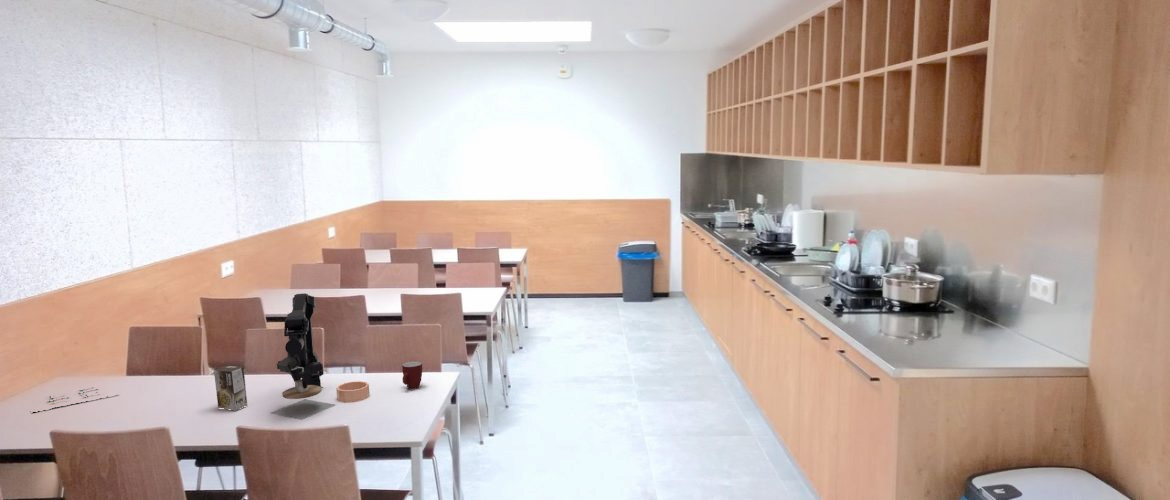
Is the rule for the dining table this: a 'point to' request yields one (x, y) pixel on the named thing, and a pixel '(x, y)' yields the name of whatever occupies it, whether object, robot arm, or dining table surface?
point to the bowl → (353, 391)
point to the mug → (412, 374)
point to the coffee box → (230, 387)
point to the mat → (303, 409)
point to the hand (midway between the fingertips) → (301, 387)
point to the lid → (301, 391)
